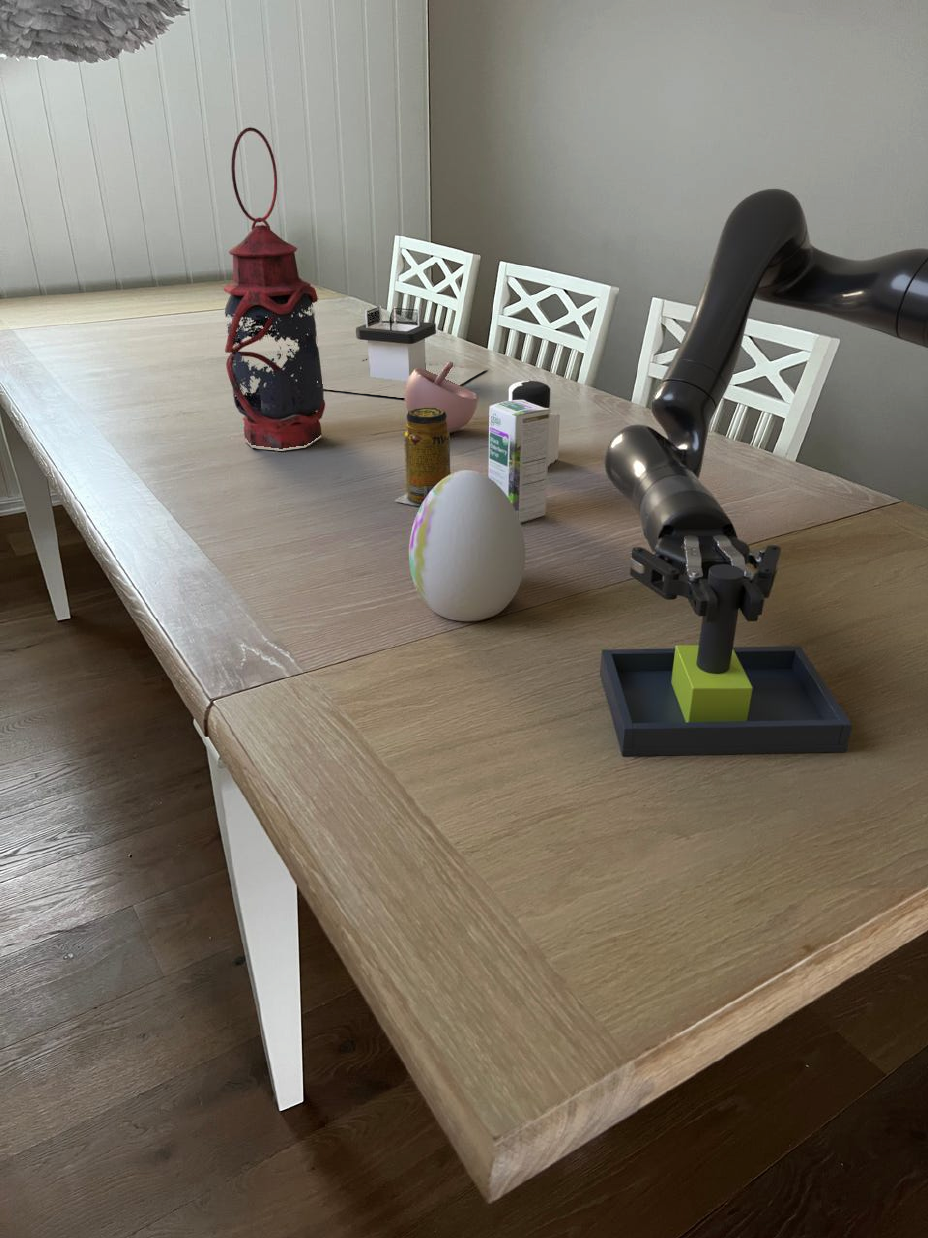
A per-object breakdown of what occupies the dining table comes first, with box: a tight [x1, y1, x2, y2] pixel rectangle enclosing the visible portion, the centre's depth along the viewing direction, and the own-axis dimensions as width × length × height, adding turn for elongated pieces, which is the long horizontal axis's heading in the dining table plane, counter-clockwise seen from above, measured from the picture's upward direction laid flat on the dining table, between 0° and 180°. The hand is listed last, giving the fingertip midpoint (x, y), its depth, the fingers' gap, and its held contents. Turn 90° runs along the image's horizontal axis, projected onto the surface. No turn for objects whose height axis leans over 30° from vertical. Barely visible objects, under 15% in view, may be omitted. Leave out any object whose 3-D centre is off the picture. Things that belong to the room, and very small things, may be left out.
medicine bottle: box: [508, 380, 561, 467], centre depth 137 cm, size 7×7×12 cm
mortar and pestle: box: [404, 361, 479, 434], centre depth 151 cm, size 12×12×12 cm
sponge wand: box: [671, 564, 753, 722], centre depth 78 cm, size 5×7×13 cm
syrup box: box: [487, 400, 551, 524], centre depth 118 cm, size 6×6×14 cm
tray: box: [599, 645, 853, 757], centre depth 81 cm, size 19×13×3 cm
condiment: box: [394, 407, 452, 507], centre depth 124 cm, size 7×8×12 cm
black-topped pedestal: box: [355, 305, 437, 381], centre depth 181 cm, size 28×26×13 cm
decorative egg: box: [408, 469, 526, 622], centre depth 96 cm, size 12×12×15 cm
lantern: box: [222, 126, 326, 449], centre depth 140 cm, size 16×15×45 cm
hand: (733, 611), depth 74 cm, fingers closed on sponge wand, 2 cm apart
